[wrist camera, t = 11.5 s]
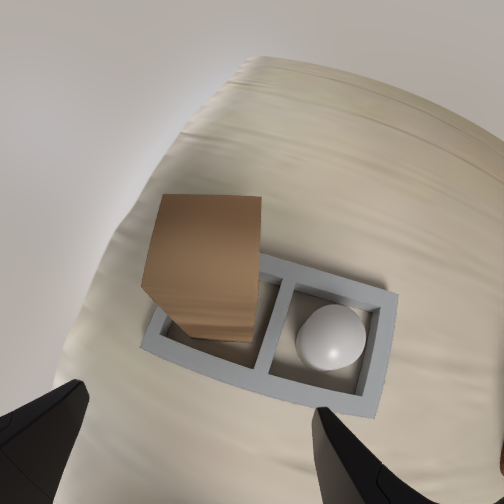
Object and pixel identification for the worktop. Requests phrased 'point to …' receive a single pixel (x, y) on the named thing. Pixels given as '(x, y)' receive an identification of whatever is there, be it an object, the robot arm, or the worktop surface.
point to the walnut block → (206, 264)
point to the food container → (502, 461)
